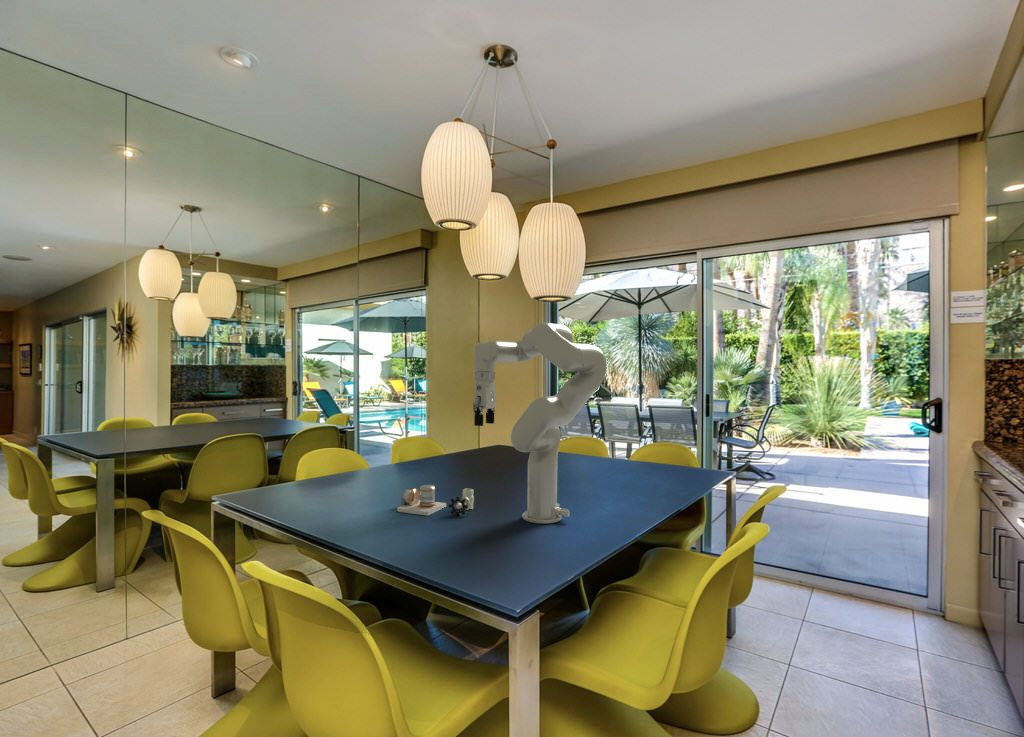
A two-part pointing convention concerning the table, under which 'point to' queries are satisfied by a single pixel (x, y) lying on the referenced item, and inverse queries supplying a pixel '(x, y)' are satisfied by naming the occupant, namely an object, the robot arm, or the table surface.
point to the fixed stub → (410, 497)
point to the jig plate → (421, 508)
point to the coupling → (427, 495)
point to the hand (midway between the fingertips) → (484, 424)
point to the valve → (463, 502)
